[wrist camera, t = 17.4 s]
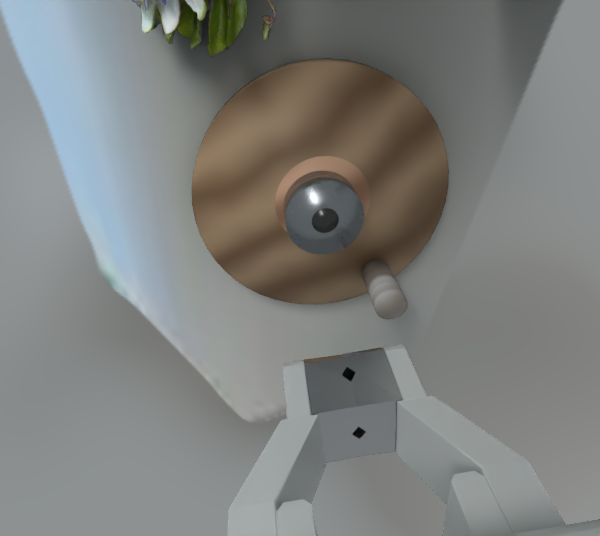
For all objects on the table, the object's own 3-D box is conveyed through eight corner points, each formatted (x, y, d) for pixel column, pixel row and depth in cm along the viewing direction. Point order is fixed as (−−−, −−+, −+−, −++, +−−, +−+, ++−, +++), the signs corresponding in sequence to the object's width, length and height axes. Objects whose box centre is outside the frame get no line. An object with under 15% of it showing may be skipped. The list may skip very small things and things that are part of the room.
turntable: (138, 174, 38) (114, 212, 31) (360, -11, 32) (390, -13, 25) (293, 326, 50) (300, 377, 43) (477, 212, 44) (518, 251, 37)
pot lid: (267, 200, 39) (269, 215, 36) (330, 154, 37) (337, 166, 34) (310, 251, 42) (315, 267, 39) (370, 211, 40) (378, 226, 38)
